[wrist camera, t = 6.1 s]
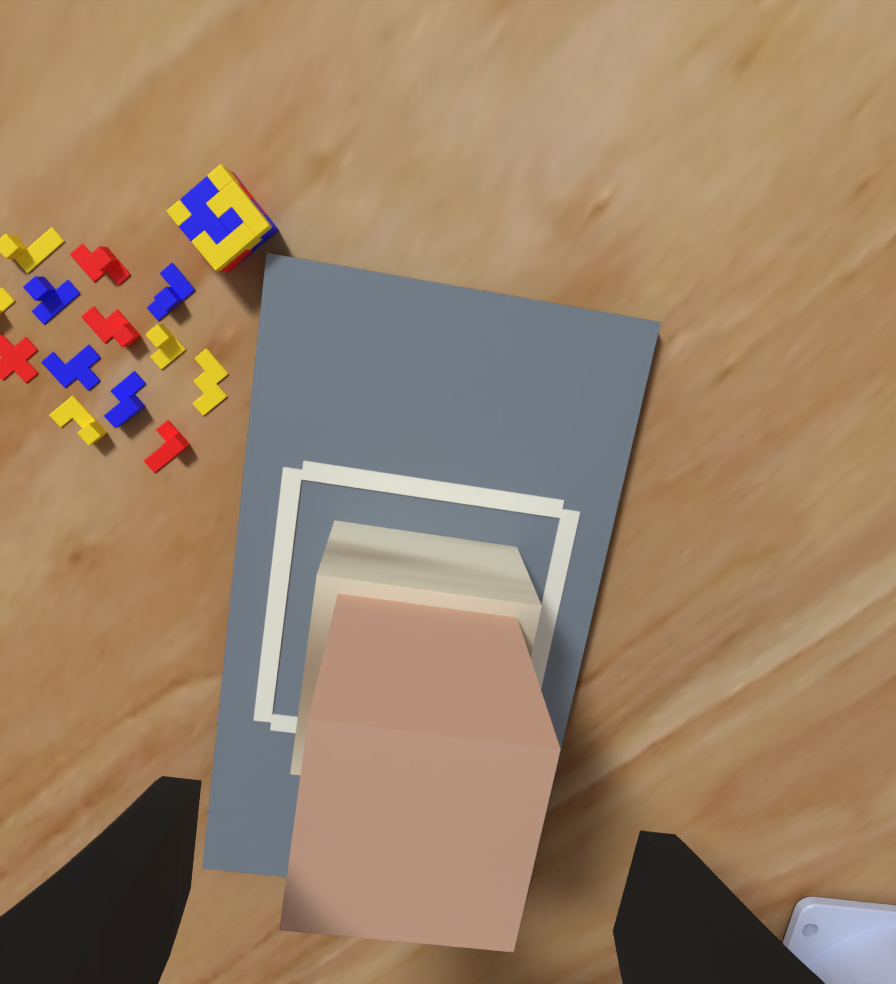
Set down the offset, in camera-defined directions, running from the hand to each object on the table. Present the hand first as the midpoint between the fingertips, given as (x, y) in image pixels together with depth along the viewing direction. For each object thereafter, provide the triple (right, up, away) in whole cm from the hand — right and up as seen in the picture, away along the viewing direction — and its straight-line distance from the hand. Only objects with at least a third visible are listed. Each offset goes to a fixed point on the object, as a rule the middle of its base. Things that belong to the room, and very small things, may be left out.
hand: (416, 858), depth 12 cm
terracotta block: (0, +1, +5) cm, 5 cm away
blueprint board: (-1, +3, +9) cm, 10 cm away
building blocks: (-7, +11, +8) cm, 15 cm away
